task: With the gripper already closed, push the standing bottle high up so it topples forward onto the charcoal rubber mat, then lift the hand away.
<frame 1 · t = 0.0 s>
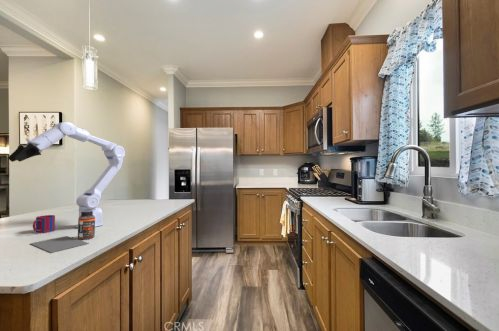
hand: (13, 159, 97), 32 cm above the countertop, tool tilted 50°, fingers open, 7 cm apart
mug: (42, 232, 109), on the countertop
mat: (59, 244, 93), on the countertop
supplement bottle: (86, 238, 101), on the countertop
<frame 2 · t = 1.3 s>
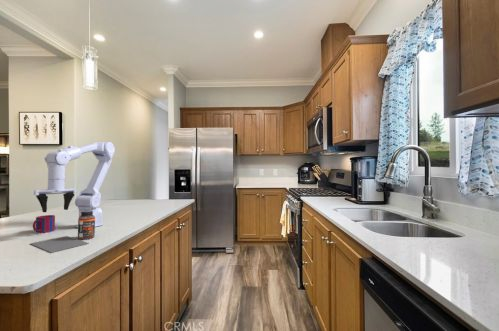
hand: (55, 210, 105), 11 cm above the countertop, tool pointing down, fingers open, 7 cm apart
nothing on the countertop moved.
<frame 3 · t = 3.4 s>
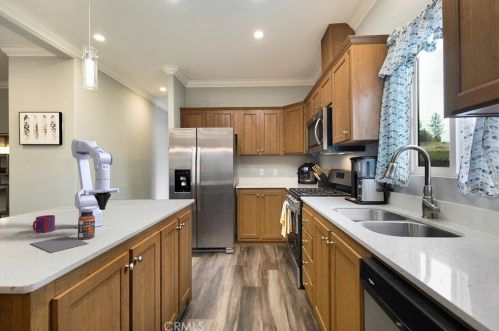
hand: (102, 209, 109), 10 cm above the countertop, tool pointing down, fingers closed
nothing on the countertop moved.
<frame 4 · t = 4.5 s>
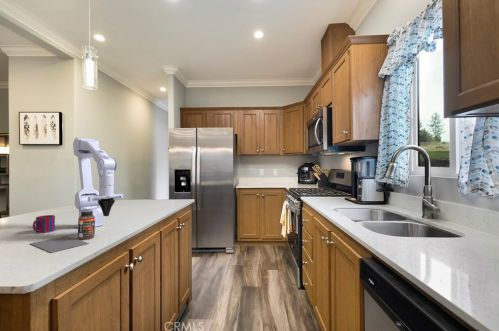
hand: (106, 215, 108), 8 cm above the countertop, tool pointing down, fingers closed
nothing on the countertop moved.
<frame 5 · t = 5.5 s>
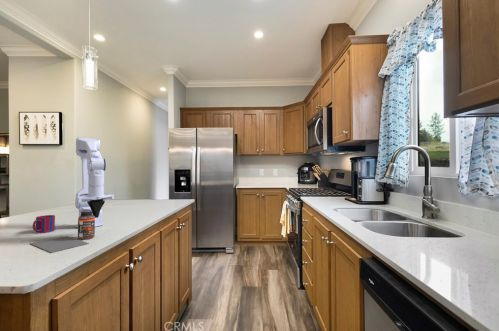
hand: (95, 217, 104), 8 cm above the countertop, tool pointing down, fingers closed
supplement bottle: (86, 238, 101), on the countertop, touching gripper
everything else where it was.
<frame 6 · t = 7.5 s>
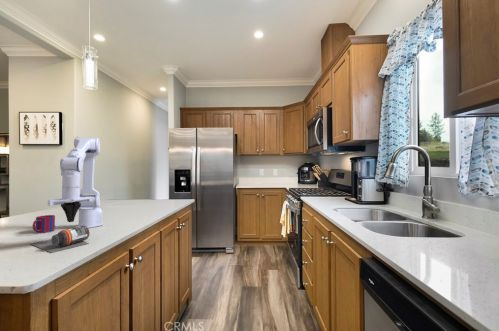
hand: (70, 221, 96), 8 cm above the countertop, tool pointing down, fingers closed
supplement bottle: (85, 232, 98), point 3 cm above the countertop, touching mat
everything else where it was.
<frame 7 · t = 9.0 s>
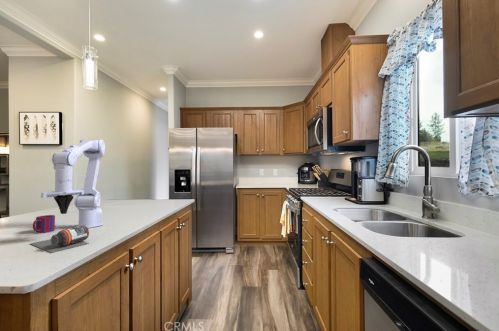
hand: (63, 213, 101), 10 cm above the countertop, tool pointing down, fingers closed
nothing on the countertop moved.
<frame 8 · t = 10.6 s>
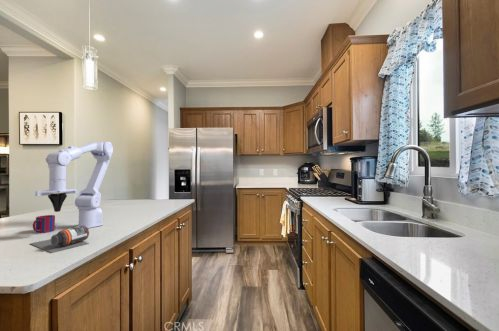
hand: (57, 211, 104), 10 cm above the countertop, tool pointing down, fingers closed
nothing on the countertop moved.
at the end: supplement bottle tilted 90°; supplement bottle touching mat; the gripper is holding nothing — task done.
